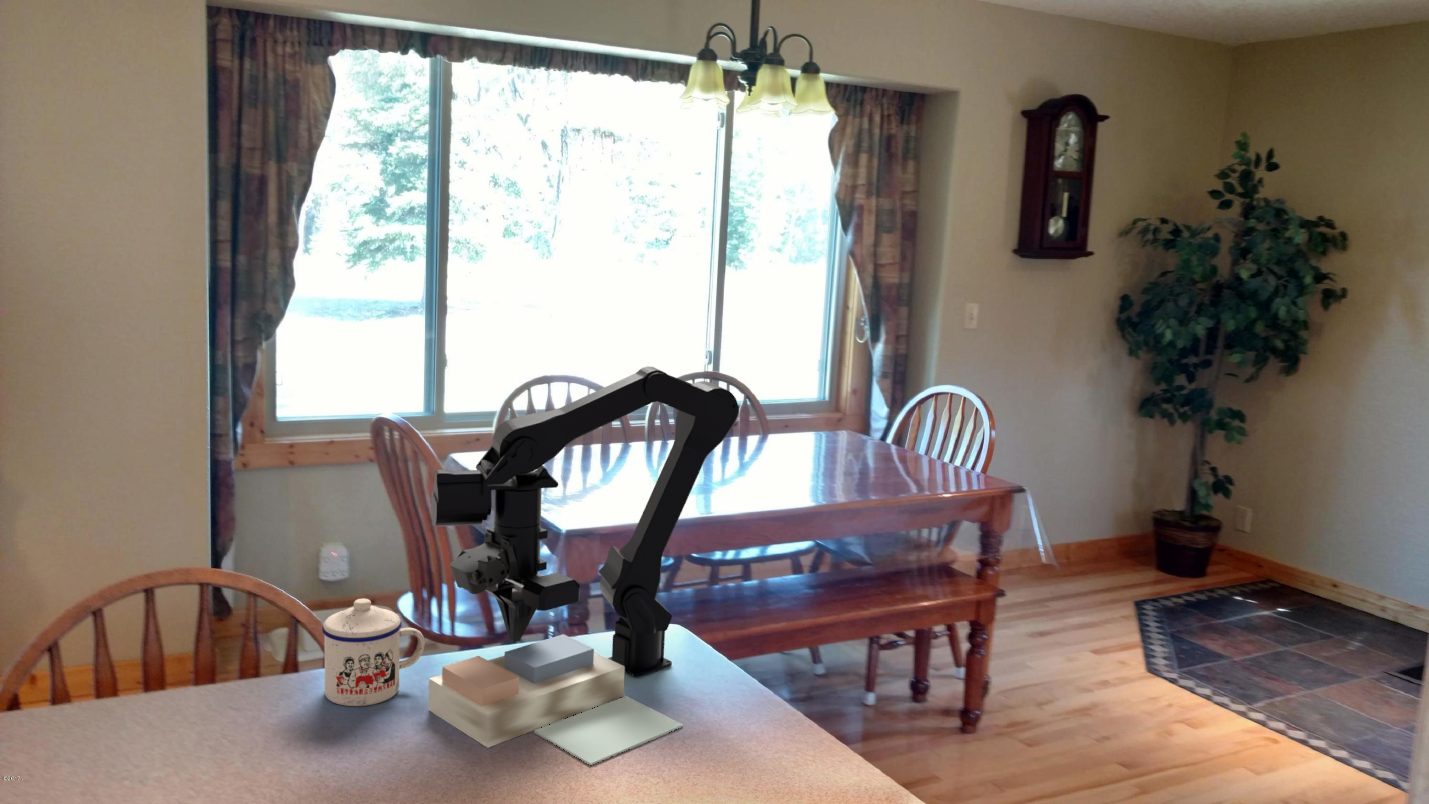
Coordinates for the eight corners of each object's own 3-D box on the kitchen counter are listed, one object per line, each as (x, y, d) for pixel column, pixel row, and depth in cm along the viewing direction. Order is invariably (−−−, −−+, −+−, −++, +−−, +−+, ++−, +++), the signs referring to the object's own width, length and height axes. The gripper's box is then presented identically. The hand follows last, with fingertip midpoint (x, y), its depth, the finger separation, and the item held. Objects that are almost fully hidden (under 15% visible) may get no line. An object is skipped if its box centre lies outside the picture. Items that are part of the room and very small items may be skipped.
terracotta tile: (478, 671, 129) (478, 655, 129) (518, 693, 123) (518, 677, 123) (442, 682, 125) (442, 666, 125) (481, 706, 120) (481, 689, 120)
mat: (626, 698, 133) (626, 696, 133) (682, 727, 126) (682, 724, 126) (534, 732, 123) (534, 730, 123) (590, 766, 116) (590, 763, 116)
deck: (562, 666, 141) (563, 637, 141) (623, 697, 133) (624, 666, 132) (428, 710, 127) (429, 678, 126) (487, 747, 119) (488, 713, 118)
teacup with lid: (330, 714, 125) (329, 618, 123) (316, 683, 132) (315, 593, 131) (433, 696, 131) (434, 605, 129) (414, 668, 138) (415, 581, 136)
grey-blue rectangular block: (563, 649, 137) (563, 634, 136) (593, 664, 133) (593, 648, 132) (504, 667, 130) (504, 652, 130) (534, 683, 126) (534, 667, 126)
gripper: (420, 515, 134) (419, 634, 137) (507, 552, 122) (504, 682, 124) (494, 502, 142) (492, 614, 145) (584, 535, 129) (580, 657, 132)
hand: (514, 640), depth 136 cm, fingers closed
